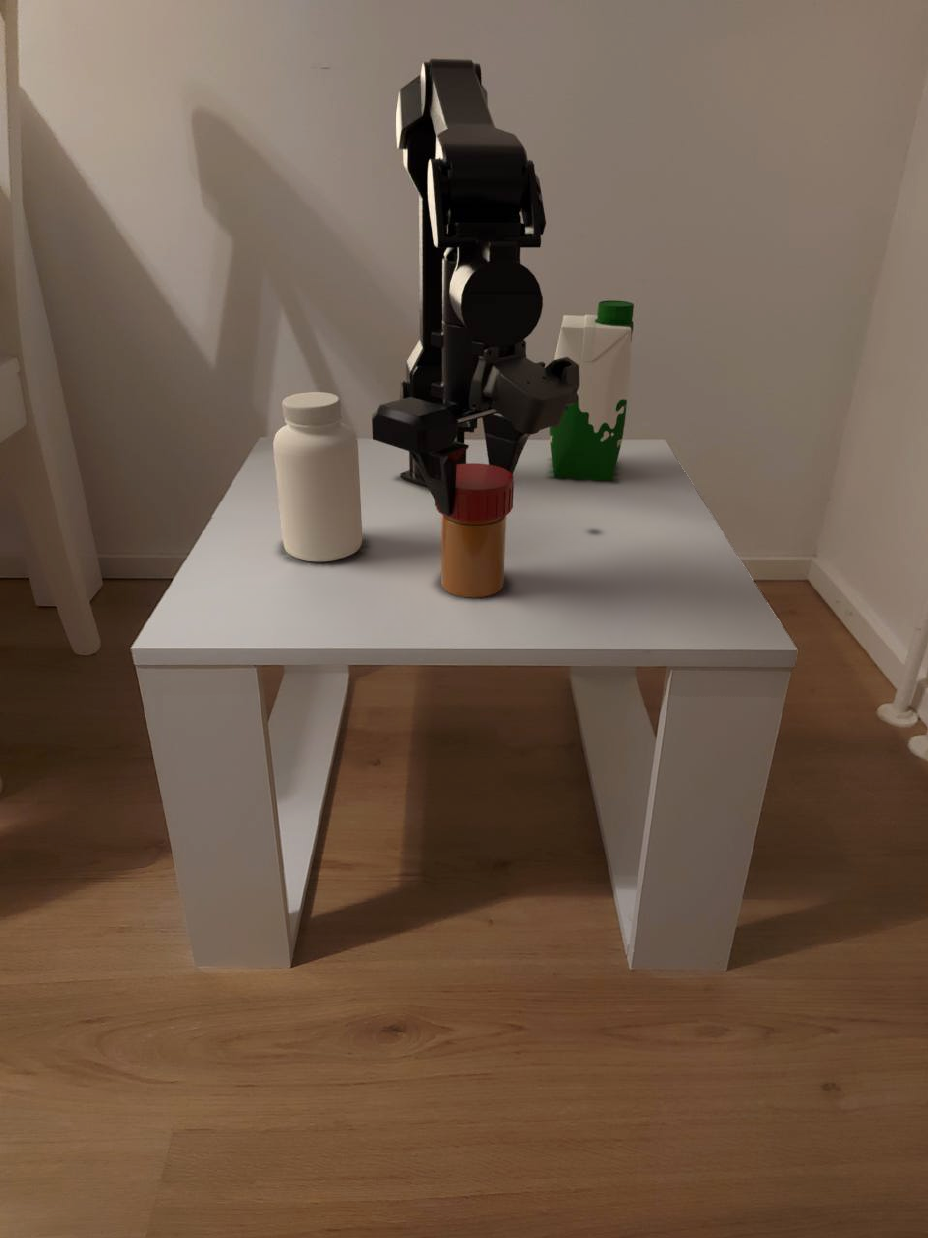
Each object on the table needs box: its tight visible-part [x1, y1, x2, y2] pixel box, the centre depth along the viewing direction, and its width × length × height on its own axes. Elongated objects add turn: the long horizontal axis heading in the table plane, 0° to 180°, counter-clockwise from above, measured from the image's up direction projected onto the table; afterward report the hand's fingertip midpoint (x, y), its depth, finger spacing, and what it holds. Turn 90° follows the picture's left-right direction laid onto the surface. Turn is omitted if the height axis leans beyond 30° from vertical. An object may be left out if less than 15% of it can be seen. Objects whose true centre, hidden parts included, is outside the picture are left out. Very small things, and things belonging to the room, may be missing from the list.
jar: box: [440, 513, 507, 599], centre depth 79 cm, size 6×6×10 cm
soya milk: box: [549, 299, 635, 482], centre depth 104 cm, size 9×9×20 cm
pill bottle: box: [272, 391, 363, 562], centre depth 84 cm, size 8×8×15 cm
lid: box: [434, 462, 515, 522], centre depth 76 cm, size 7×7×3 cm
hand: (473, 503), depth 77 cm, fingers closed on lid, 7 cm apart
